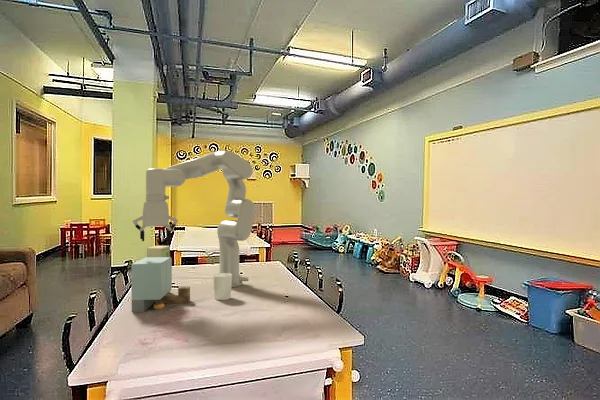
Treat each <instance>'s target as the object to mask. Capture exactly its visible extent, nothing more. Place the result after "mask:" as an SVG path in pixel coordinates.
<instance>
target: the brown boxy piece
mask: <svg viewBox="0 0 600 400" xmlns="http://www.w3.org/2000/svg"><path fill="white" fill-rule="evenodd" d="M190 301H191V286H189V285H188V286H184V285H183V286H179V287H177V295H176V294H174V295H167V294H166V295H165V296H163V297H162V298H161V299H160V300H156V301H155V304H156V303H164V304H188V303H190Z"/></svg>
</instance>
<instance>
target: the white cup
mask: <svg viewBox="0 0 600 400" xmlns="http://www.w3.org/2000/svg"><path fill="white" fill-rule="evenodd" d="M212 278H213V279H212V280H213V282H212V283H213V293H214V294H213V295H214V299H215V300H216V301H227V300H229V299H231V297H232V287H231V286H232V274H230V273H220V272H219V273H214V274H213V275H212Z"/></svg>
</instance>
